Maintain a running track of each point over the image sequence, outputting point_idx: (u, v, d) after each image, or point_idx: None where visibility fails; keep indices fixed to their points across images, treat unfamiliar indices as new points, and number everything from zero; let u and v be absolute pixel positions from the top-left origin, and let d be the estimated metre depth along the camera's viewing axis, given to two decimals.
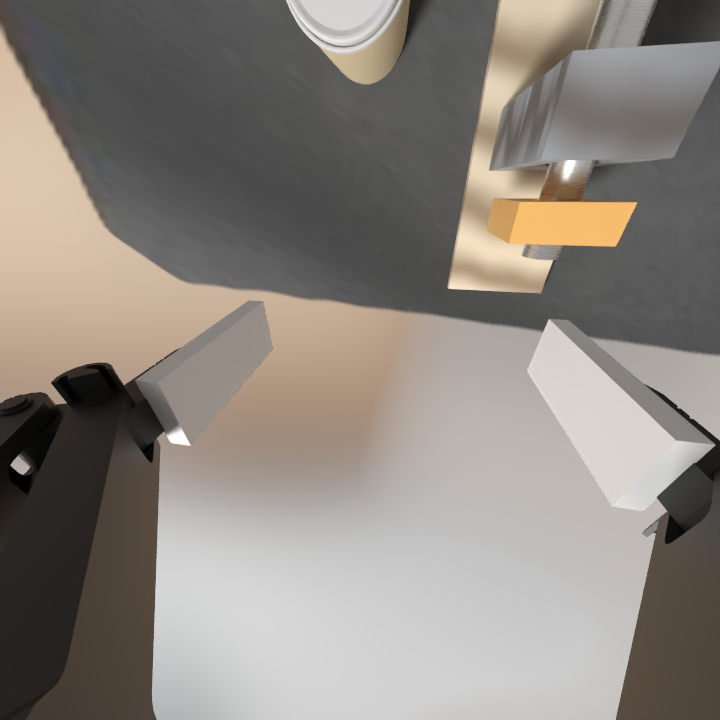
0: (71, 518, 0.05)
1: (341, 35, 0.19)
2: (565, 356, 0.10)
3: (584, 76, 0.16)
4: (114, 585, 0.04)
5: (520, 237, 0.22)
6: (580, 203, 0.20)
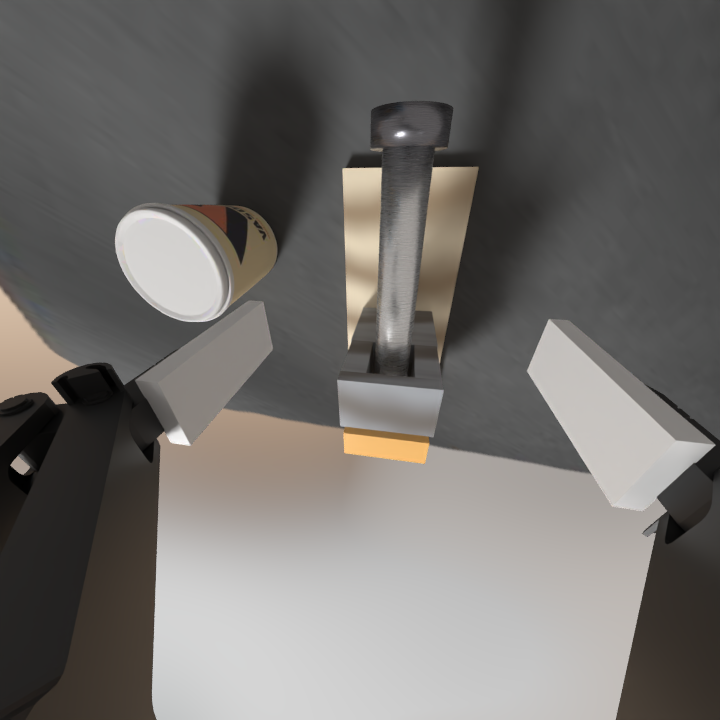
0: (71, 517, 0.05)
1: (186, 318, 0.23)
2: (565, 356, 0.10)
3: (351, 392, 0.20)
4: (113, 584, 0.04)
5: (352, 450, 0.27)
6: (388, 439, 0.25)
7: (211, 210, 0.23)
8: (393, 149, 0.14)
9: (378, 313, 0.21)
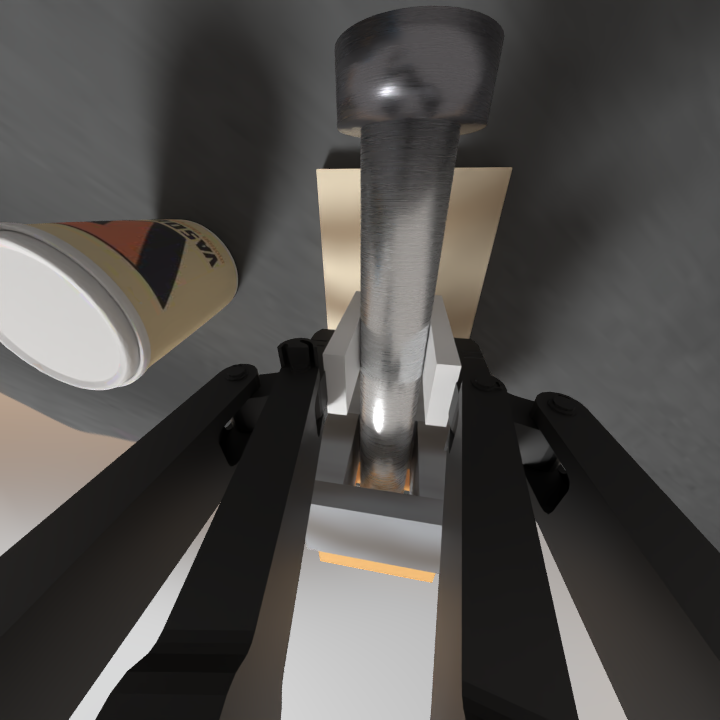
0: (272, 476, 0.05)
1: (86, 386, 0.16)
2: None
3: (319, 516, 0.13)
4: (285, 555, 0.05)
5: (330, 560, 0.19)
6: None
7: (119, 230, 0.15)
8: (379, 127, 0.07)
9: (362, 393, 0.13)
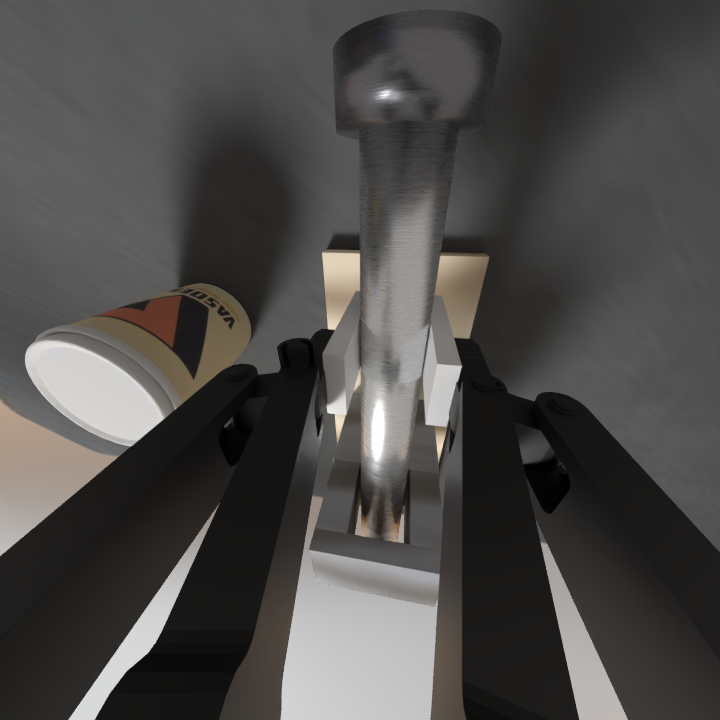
0: (272, 476, 0.05)
1: (128, 443, 0.19)
2: None
3: (327, 561, 0.16)
4: (285, 555, 0.05)
5: None
6: None
7: (156, 314, 0.18)
8: (377, 130, 0.07)
9: (362, 394, 0.13)
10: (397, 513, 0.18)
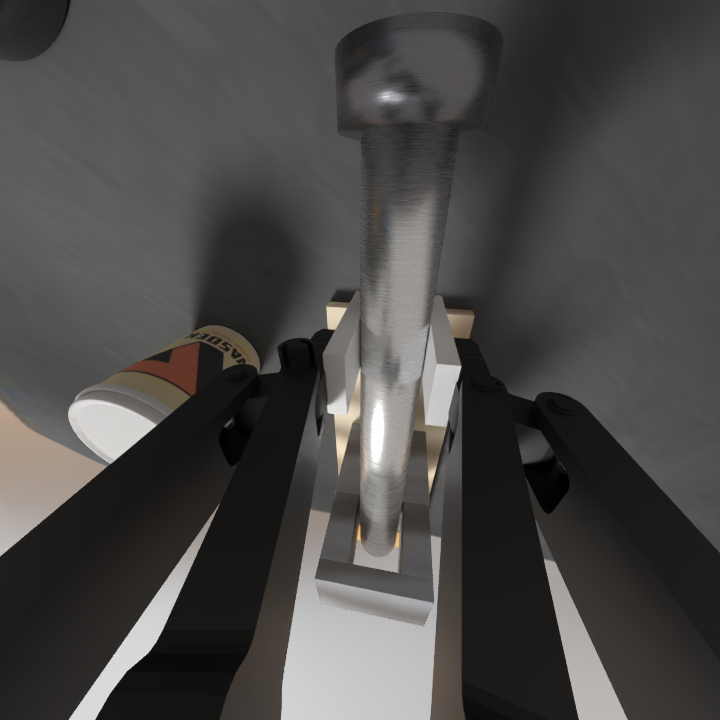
0: (272, 476, 0.05)
1: None
2: None
3: (330, 587, 0.18)
4: (286, 555, 0.05)
5: None
6: None
7: (180, 365, 0.20)
8: (379, 131, 0.07)
9: (362, 394, 0.13)
10: (396, 513, 0.18)
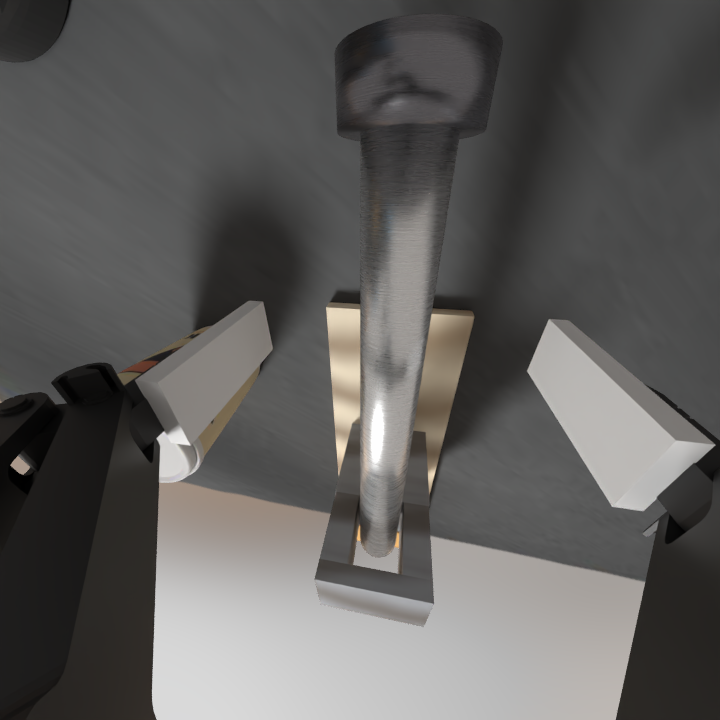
0: (70, 517, 0.05)
1: None
2: (565, 356, 0.10)
3: (330, 588, 0.18)
4: (115, 584, 0.04)
5: None
6: None
7: None
8: (379, 132, 0.07)
9: (362, 394, 0.13)
10: (396, 514, 0.18)
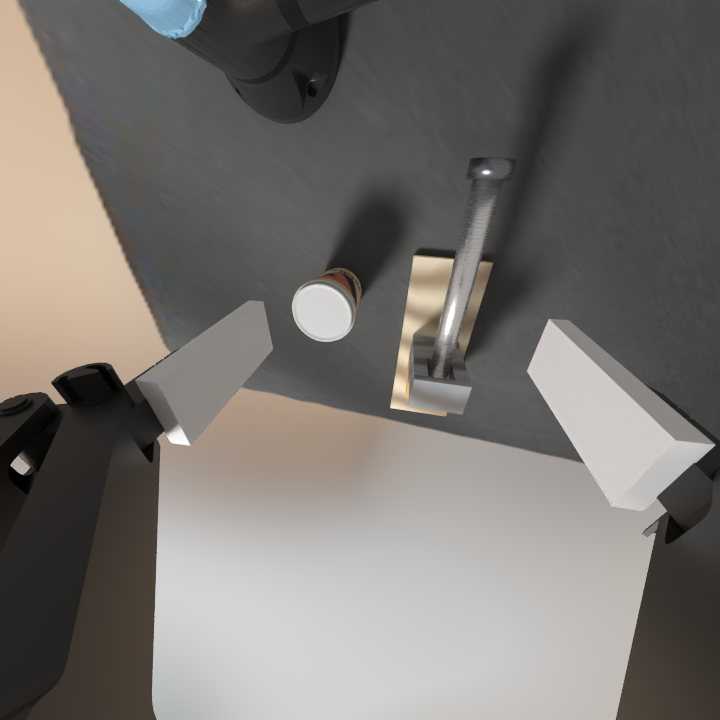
0: (71, 517, 0.05)
1: (321, 339, 0.40)
2: (565, 356, 0.10)
3: (420, 386, 0.37)
4: (115, 584, 0.04)
5: None
6: None
7: (341, 279, 0.40)
8: (482, 179, 0.27)
9: (453, 277, 0.33)
10: (453, 351, 0.38)
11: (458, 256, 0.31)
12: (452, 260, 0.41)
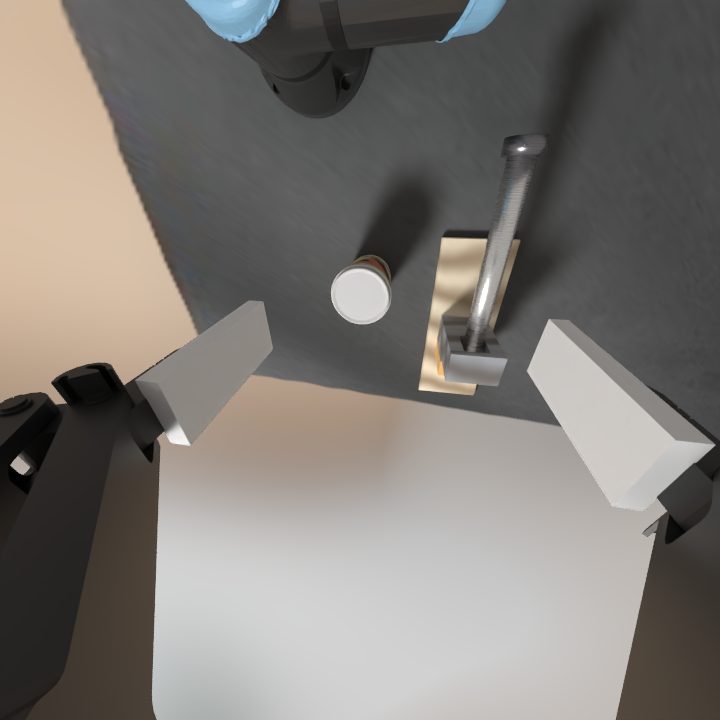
0: (71, 517, 0.05)
1: (359, 322, 0.42)
2: (565, 356, 0.10)
3: (457, 360, 0.39)
4: (114, 584, 0.04)
5: (442, 373, 0.48)
6: None
7: (376, 263, 0.42)
8: (518, 156, 0.28)
9: (487, 253, 0.34)
10: (487, 326, 0.39)
11: (493, 232, 0.33)
12: (480, 240, 0.43)
